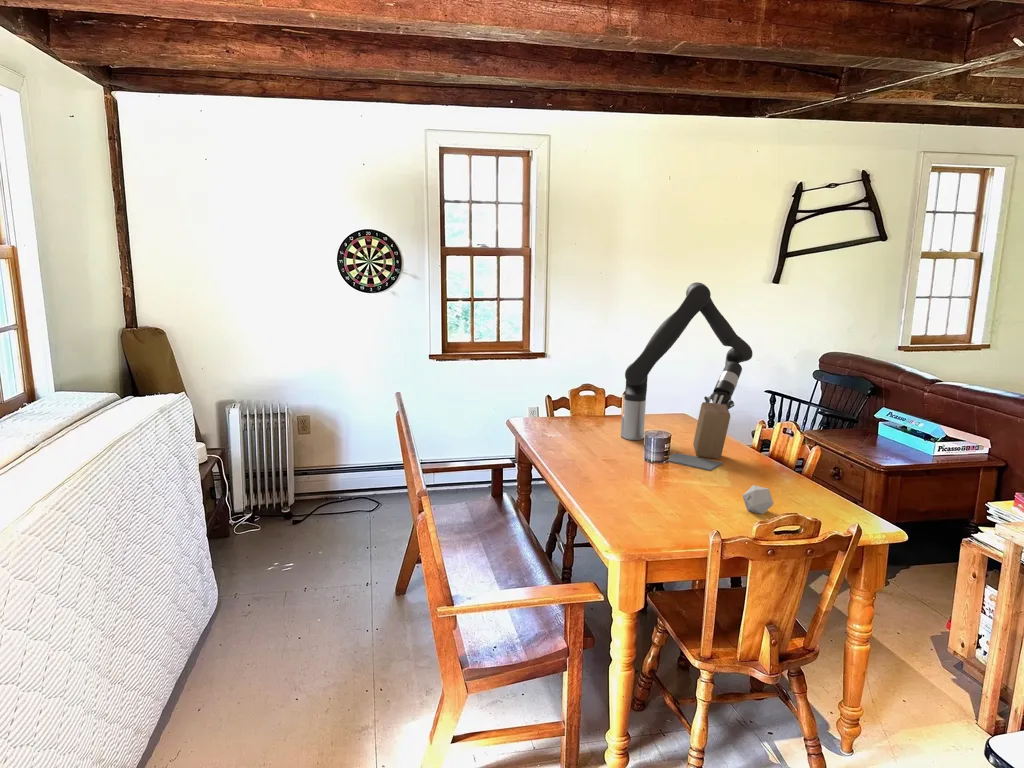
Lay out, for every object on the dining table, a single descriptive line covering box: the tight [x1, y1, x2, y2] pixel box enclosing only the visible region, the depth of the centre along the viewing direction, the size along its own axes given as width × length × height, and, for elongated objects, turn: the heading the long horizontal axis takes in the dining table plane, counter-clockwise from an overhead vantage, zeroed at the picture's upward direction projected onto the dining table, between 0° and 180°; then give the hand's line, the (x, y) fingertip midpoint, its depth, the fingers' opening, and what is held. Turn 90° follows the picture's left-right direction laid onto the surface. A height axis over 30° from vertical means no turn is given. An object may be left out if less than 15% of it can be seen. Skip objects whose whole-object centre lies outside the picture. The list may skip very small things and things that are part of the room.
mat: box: [667, 452, 724, 472], centre depth 264 cm, size 20×12×1 cm, turn 49°
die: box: [741, 484, 774, 515], centre depth 212 cm, size 8×9×10 cm
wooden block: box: [692, 401, 731, 460], centre depth 268 cm, size 10×10×20 cm
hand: (711, 418), depth 273 cm, fingers closed
